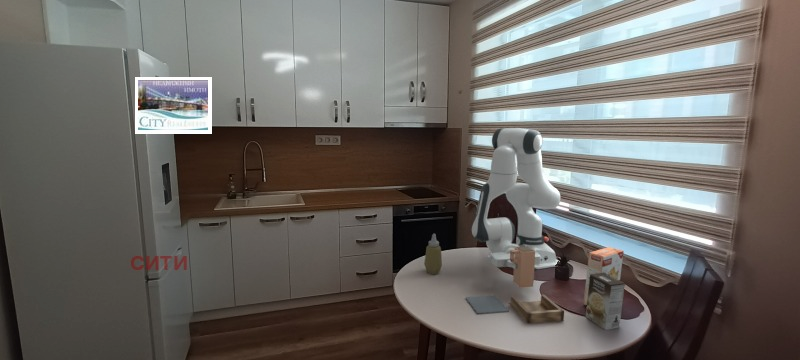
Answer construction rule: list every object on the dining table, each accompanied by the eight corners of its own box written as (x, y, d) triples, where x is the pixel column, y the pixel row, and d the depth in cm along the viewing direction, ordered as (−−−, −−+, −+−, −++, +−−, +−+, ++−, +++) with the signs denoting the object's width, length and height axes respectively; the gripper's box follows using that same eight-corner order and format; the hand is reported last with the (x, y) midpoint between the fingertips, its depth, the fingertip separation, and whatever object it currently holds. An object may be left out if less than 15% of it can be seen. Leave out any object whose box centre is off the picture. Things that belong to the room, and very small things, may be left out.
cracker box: (598, 311, 133) (604, 256, 130) (582, 304, 138) (587, 251, 135) (618, 302, 140) (624, 250, 137) (603, 296, 145) (608, 245, 142)
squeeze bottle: (440, 276, 162) (442, 237, 159) (422, 274, 163) (423, 235, 161) (442, 269, 170) (443, 232, 167) (425, 267, 171) (426, 230, 168)
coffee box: (584, 316, 129) (588, 273, 127) (598, 314, 131) (603, 271, 128) (605, 330, 120) (610, 284, 118) (620, 327, 122) (626, 282, 120)
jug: (526, 280, 148) (528, 245, 145) (533, 286, 142) (535, 250, 140) (506, 282, 146) (507, 246, 144) (512, 288, 141) (514, 252, 138)
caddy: (540, 301, 140) (541, 292, 140) (563, 321, 126) (564, 311, 126) (508, 303, 138) (508, 294, 137) (527, 324, 124) (528, 313, 123)
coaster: (494, 296, 143) (495, 295, 143) (508, 311, 131) (509, 310, 131) (465, 298, 141) (465, 297, 141) (477, 314, 129) (477, 312, 129)
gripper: (485, 248, 154) (499, 260, 141) (530, 245, 157) (548, 257, 144) (485, 262, 155) (499, 276, 142) (529, 259, 158) (547, 272, 145)
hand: (524, 266), depth 143 cm, fingers closed on jug, 6 cm apart
